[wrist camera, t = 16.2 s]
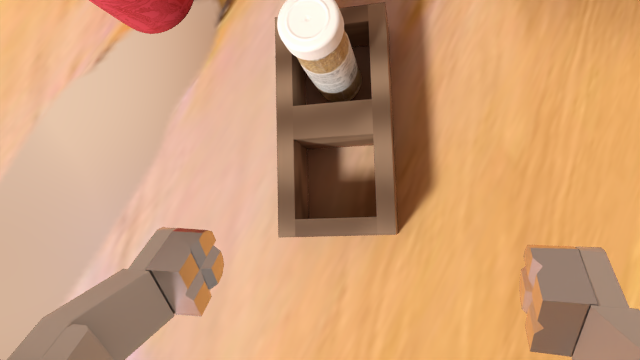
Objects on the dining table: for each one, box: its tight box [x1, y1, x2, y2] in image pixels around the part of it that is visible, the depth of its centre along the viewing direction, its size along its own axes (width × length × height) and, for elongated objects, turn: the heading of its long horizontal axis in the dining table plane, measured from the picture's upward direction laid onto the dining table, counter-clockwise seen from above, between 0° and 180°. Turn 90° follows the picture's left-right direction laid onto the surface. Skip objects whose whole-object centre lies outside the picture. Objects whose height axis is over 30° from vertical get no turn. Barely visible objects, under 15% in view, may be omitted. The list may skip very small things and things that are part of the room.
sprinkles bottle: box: [277, 0, 362, 102], centre depth 35 cm, size 5×5×14 cm
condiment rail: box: [275, 2, 398, 237], centre depth 39 cm, size 20×10×5 cm, turn 2°
